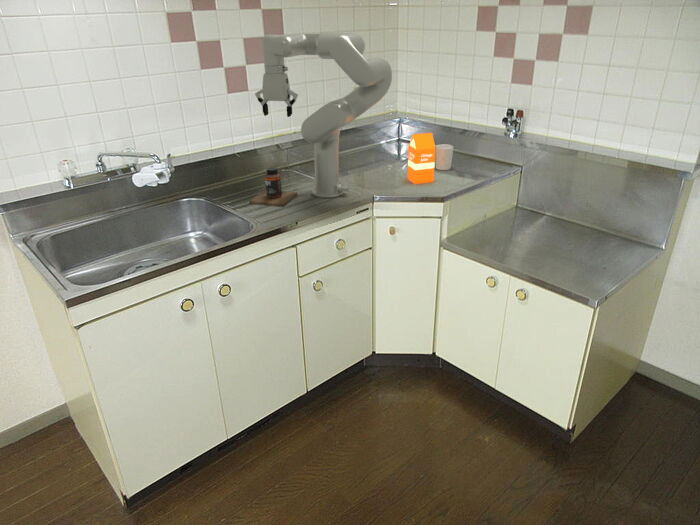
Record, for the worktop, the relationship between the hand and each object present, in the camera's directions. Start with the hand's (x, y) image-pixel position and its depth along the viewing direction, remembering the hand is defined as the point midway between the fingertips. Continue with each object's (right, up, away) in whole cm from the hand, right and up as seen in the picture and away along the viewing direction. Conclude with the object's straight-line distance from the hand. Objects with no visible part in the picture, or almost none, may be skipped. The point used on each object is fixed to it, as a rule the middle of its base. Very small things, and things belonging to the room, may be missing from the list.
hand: (277, 115), depth 209 cm
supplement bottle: (-1, -32, -2) cm, 33 cm away
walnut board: (-1, -33, -2) cm, 33 cm away
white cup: (+71, -15, +33) cm, 80 cm away
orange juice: (+59, -23, +17) cm, 65 cm away
